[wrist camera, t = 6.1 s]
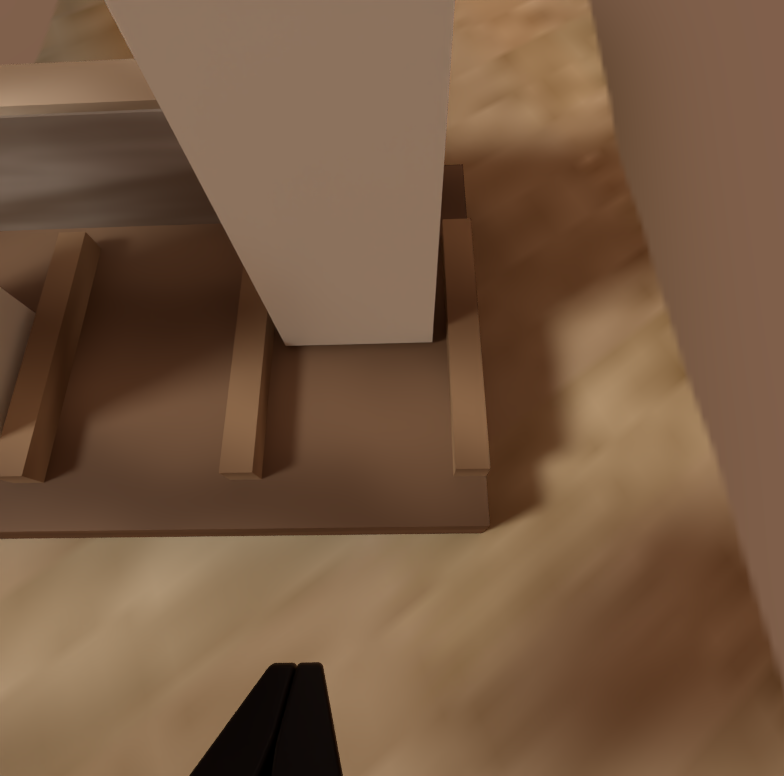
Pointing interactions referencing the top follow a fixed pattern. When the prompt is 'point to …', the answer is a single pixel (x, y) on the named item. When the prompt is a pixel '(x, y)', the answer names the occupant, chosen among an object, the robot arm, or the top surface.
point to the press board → (204, 351)
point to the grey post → (11, 346)
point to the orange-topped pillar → (313, 148)
